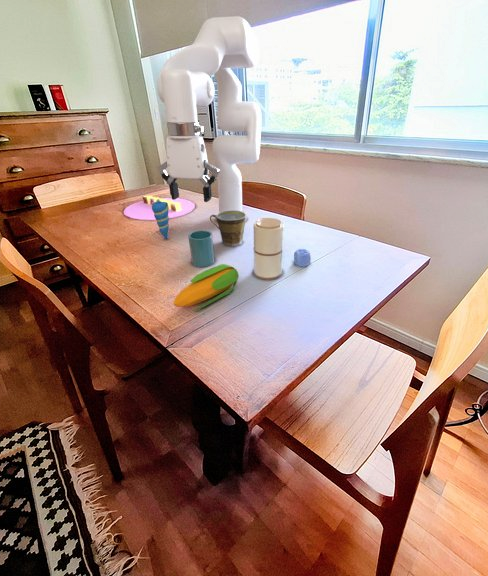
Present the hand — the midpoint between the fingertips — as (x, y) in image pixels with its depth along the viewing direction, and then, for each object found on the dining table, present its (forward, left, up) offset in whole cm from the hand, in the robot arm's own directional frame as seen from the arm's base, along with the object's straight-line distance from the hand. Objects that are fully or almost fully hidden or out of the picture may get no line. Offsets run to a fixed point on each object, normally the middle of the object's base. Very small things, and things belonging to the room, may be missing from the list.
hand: (191, 199), depth 83 cm
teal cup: (0, +2, -19) cm, 19 cm away
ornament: (-13, -18, -19) cm, 29 cm away
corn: (+19, +11, -19) cm, 29 cm away
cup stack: (+2, +23, -19) cm, 30 cm away
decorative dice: (-6, +32, -19) cm, 38 cm away
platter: (-45, -38, -19) cm, 62 cm away
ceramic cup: (-16, +5, -19) cm, 25 cm away
